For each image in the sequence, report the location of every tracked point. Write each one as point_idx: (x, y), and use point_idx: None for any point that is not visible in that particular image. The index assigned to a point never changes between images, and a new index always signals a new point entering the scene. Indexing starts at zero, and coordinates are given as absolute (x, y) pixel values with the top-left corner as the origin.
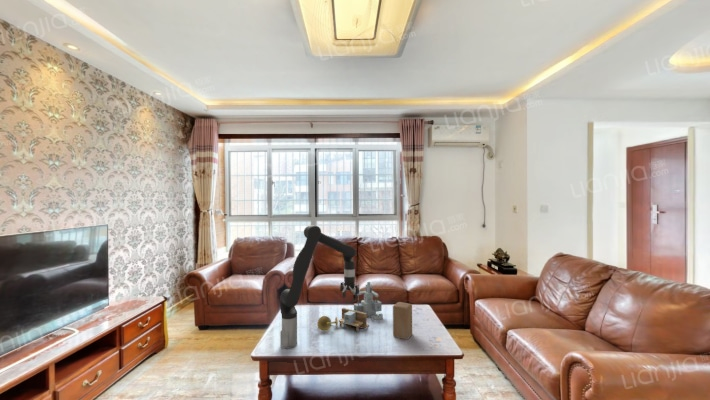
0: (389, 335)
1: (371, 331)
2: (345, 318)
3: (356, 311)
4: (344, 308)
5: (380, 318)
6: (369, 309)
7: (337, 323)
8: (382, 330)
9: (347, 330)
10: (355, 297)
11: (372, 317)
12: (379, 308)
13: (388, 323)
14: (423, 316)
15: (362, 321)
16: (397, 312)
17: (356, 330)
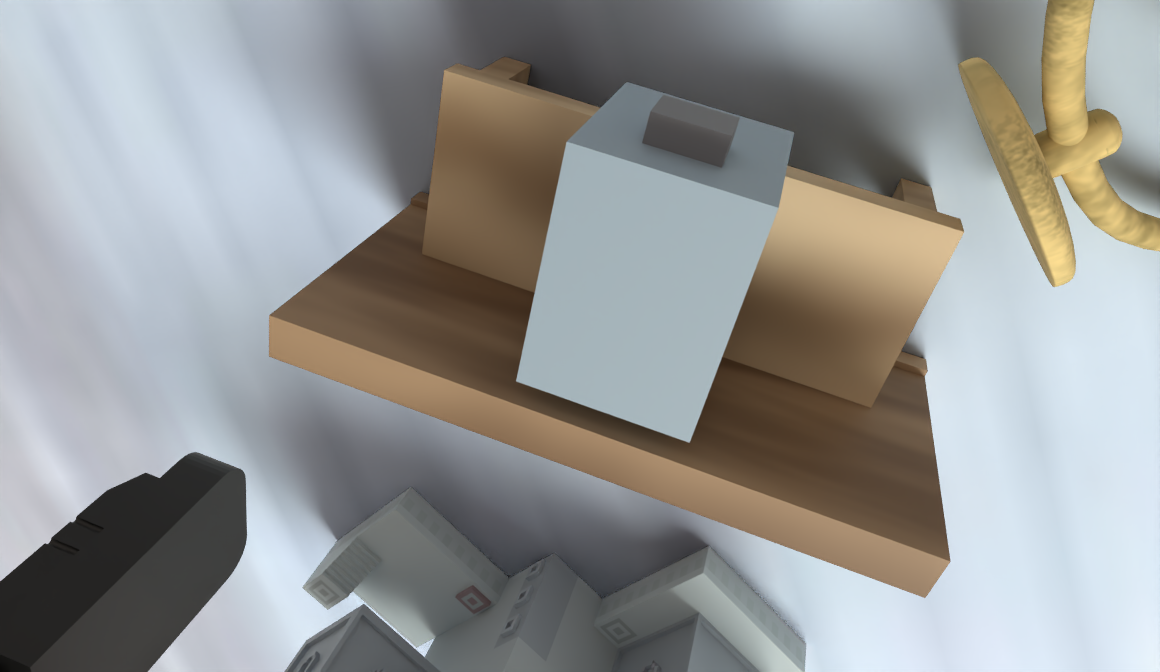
0: (14, 45)
1: (291, 111)
2: (727, 118)
3: (510, 419)
4: (870, 561)
5: (351, 533)
6: (471, 670)
7: (966, 65)
8: (173, 190)
9: (705, 27)
10: (60, 538)
11: (450, 545)
12: (305, 665)
13: (214, 419)
14: None
15: (429, 261)
16: None
17: (527, 65)
